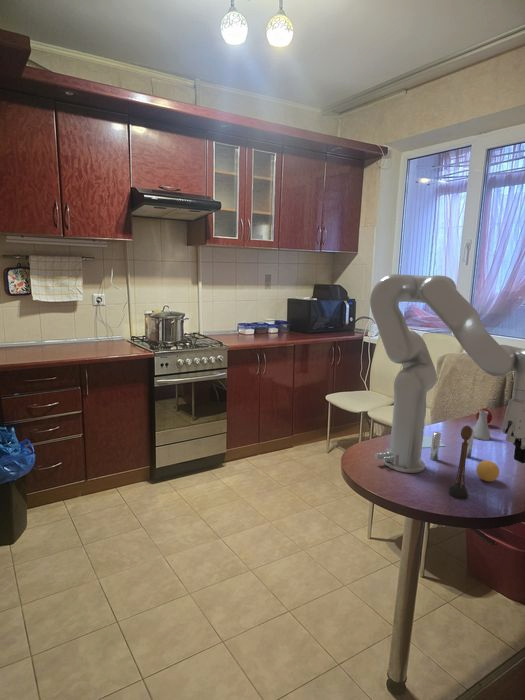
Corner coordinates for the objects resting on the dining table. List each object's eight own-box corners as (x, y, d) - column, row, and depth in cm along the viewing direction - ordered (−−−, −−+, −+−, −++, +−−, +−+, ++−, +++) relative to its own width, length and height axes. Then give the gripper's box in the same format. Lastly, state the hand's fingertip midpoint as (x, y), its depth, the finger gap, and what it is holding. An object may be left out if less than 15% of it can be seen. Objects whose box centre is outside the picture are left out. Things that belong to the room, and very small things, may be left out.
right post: (466, 458, 147) (469, 432, 145) (461, 455, 149) (464, 429, 148) (472, 457, 148) (476, 432, 146) (467, 454, 150) (470, 429, 148)
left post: (432, 460, 143) (436, 434, 142) (428, 457, 146) (431, 432, 144) (439, 460, 144) (442, 434, 142) (434, 457, 146) (437, 431, 145)
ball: (485, 485, 128) (488, 466, 127) (470, 476, 133) (473, 457, 132) (502, 484, 129) (505, 465, 128) (487, 474, 135) (489, 456, 134)
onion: (492, 428, 177) (495, 409, 176) (477, 427, 179) (480, 408, 177) (488, 423, 183) (491, 405, 182) (473, 422, 184) (476, 403, 183)
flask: (491, 436, 169) (495, 411, 167) (489, 442, 163) (493, 416, 161) (471, 432, 172) (474, 407, 171) (468, 437, 166) (471, 412, 165)
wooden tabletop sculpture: (454, 487, 126) (463, 420, 122) (471, 494, 123) (481, 425, 119) (446, 494, 121) (455, 425, 118) (463, 501, 118) (473, 430, 115)
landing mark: (421, 448, 154) (421, 447, 154) (404, 437, 163) (404, 436, 163) (445, 446, 156) (445, 445, 156) (428, 435, 166) (428, 435, 166)
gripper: (539, 390, 123) (531, 453, 126) (494, 393, 119) (487, 458, 122) (563, 397, 116) (554, 464, 119) (517, 400, 112) (509, 469, 115)
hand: (520, 460), depth 120 cm, fingers closed
